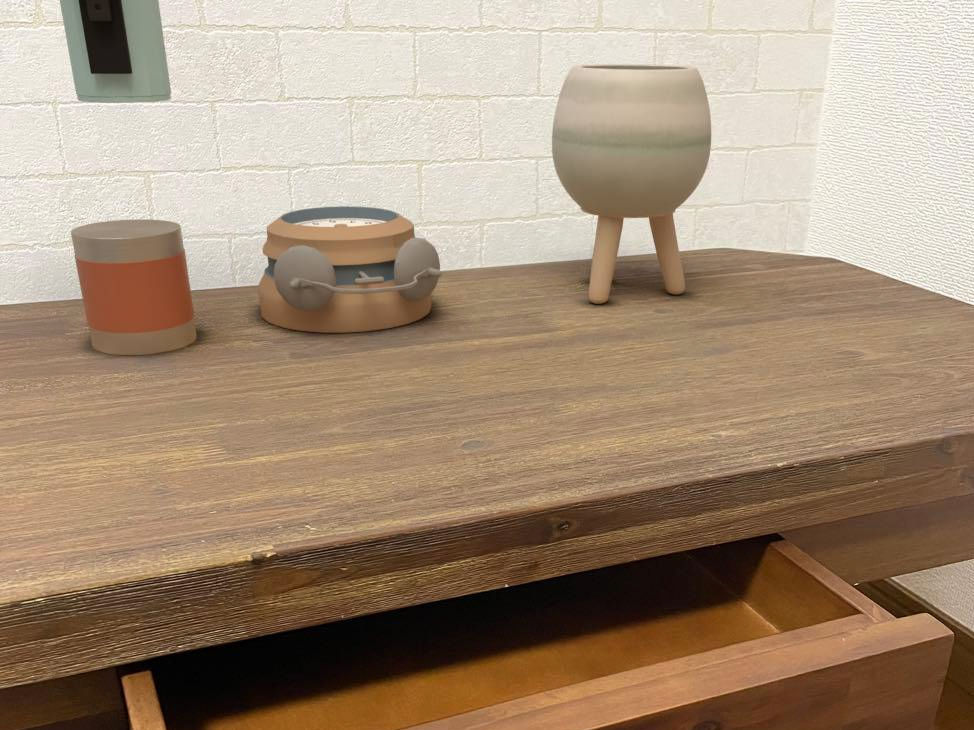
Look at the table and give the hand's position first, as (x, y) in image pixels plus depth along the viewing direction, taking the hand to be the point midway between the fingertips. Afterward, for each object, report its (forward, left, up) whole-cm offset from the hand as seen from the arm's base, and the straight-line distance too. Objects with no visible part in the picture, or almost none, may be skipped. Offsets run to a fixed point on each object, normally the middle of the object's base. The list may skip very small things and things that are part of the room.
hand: (119, 70), depth 77 cm
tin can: (-4, +8, -23) cm, 25 cm away
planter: (+42, +26, -23) cm, 54 cm away
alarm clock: (+14, +16, -23) cm, 31 cm away
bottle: (0, 0, -2) cm, 2 cm away
